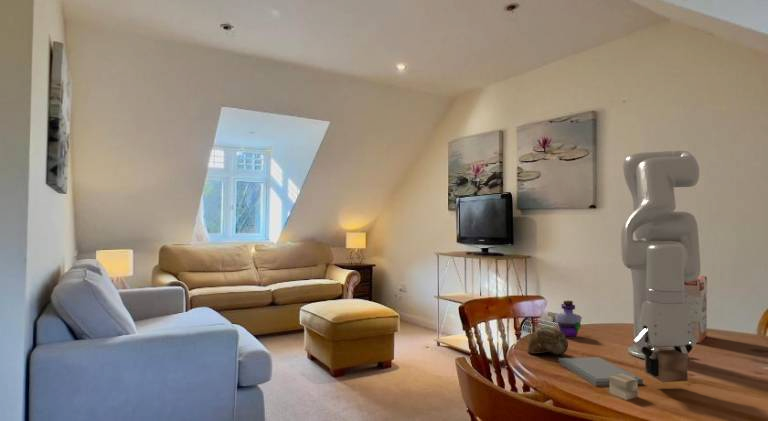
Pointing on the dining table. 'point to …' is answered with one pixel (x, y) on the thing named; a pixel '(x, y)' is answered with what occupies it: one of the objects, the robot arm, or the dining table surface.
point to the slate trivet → (595, 369)
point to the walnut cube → (670, 365)
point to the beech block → (623, 386)
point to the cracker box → (697, 306)
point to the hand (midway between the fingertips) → (665, 372)
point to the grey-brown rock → (548, 341)
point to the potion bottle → (568, 320)
